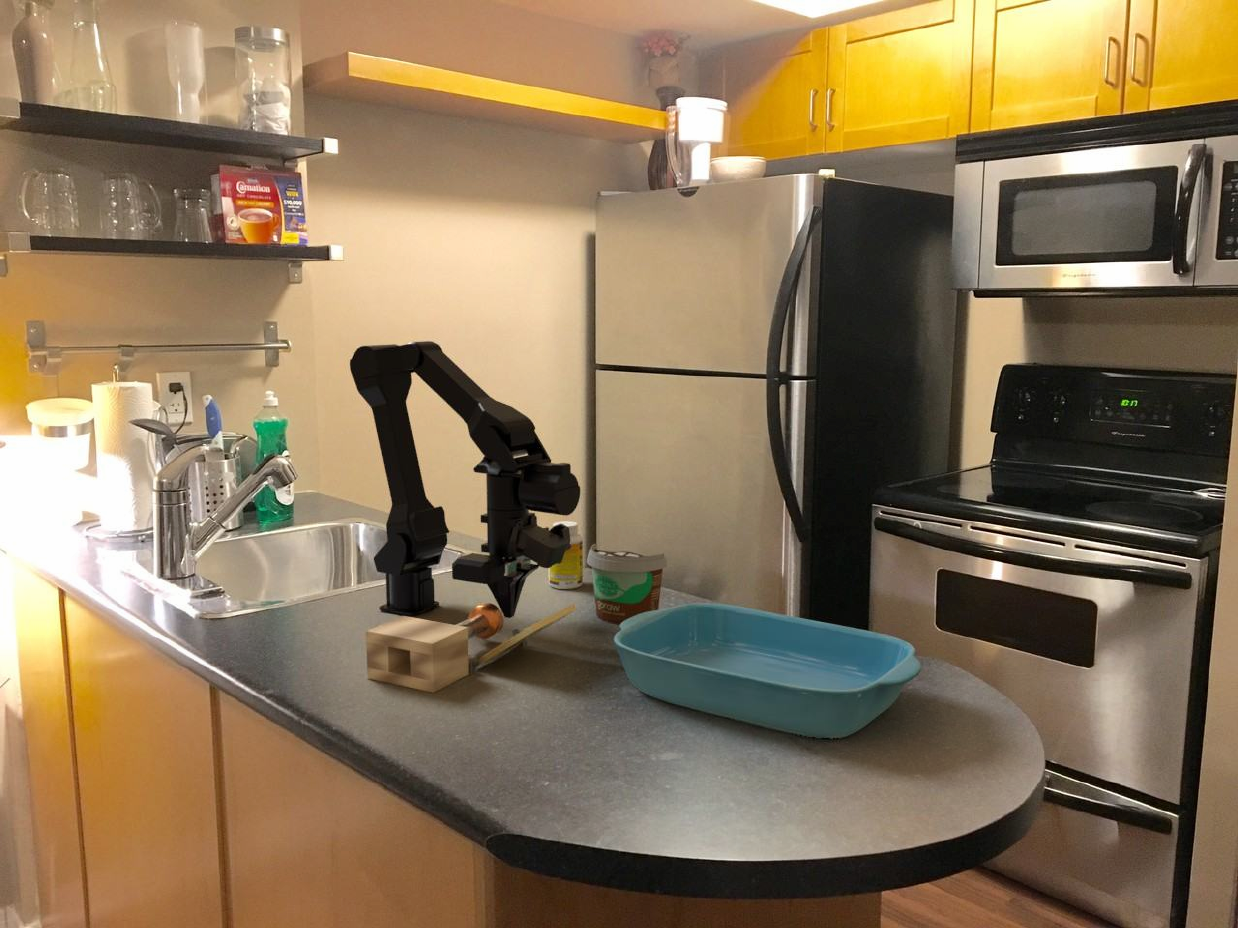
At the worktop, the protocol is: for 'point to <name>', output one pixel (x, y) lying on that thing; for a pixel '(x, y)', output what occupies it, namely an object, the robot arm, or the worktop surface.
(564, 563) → the supplement bottle
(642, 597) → the food container
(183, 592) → the worktop surface
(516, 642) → the plate
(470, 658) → the keeper bracket
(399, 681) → the block
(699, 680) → the casserole dish
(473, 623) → the hitch pin
